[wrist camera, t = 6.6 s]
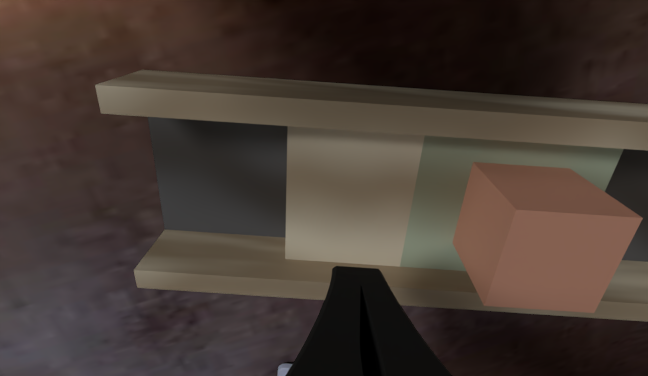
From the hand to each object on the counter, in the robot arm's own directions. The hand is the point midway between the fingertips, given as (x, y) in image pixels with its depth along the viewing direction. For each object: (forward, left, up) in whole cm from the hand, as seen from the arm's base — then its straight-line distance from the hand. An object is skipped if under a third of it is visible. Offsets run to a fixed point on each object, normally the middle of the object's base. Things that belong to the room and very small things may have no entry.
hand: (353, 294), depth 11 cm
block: (0, -7, -6) cm, 9 cm away
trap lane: (0, -4, -8) cm, 9 cm away
